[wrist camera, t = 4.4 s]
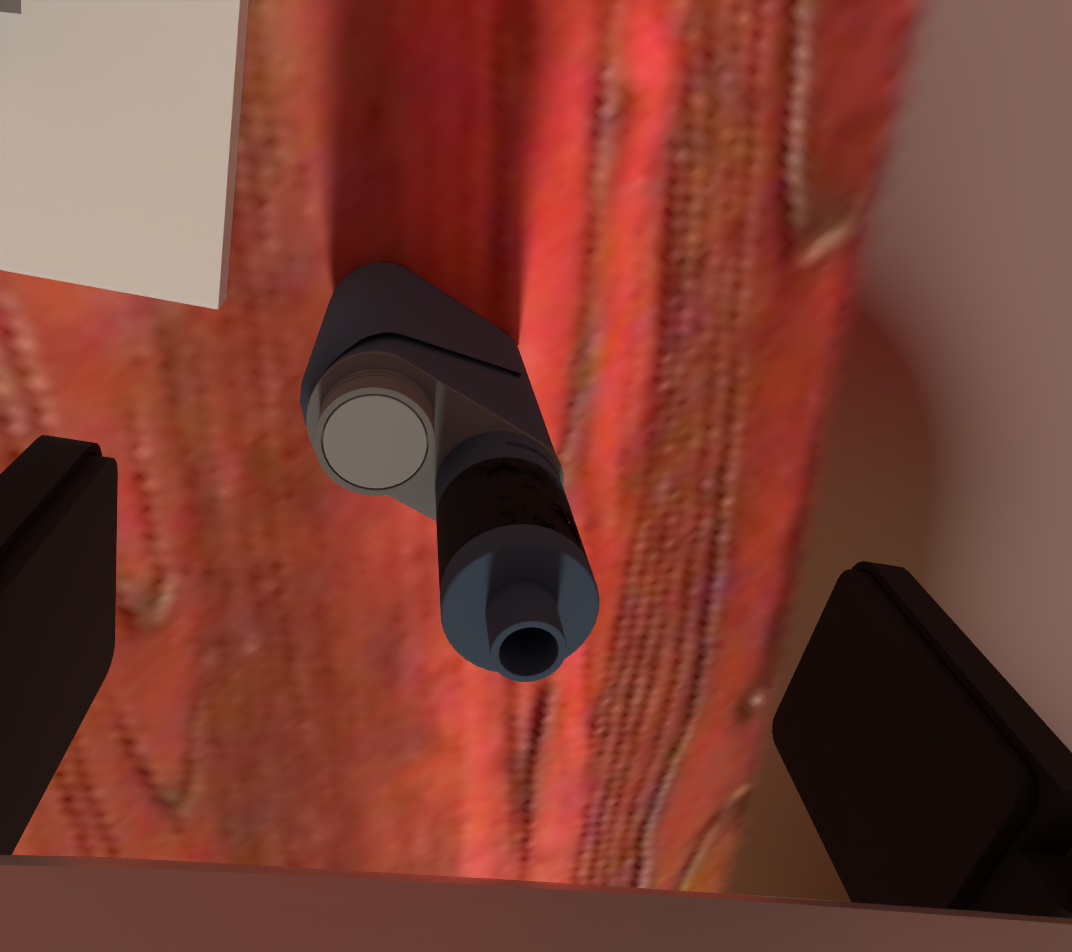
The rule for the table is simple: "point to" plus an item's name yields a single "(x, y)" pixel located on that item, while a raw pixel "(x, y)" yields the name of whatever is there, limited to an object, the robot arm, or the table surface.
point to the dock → (121, 143)
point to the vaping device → (454, 462)
